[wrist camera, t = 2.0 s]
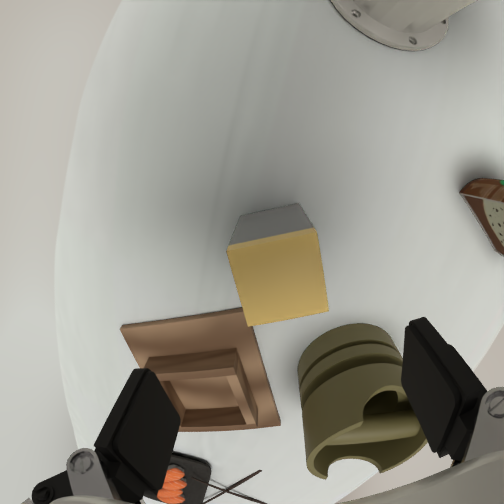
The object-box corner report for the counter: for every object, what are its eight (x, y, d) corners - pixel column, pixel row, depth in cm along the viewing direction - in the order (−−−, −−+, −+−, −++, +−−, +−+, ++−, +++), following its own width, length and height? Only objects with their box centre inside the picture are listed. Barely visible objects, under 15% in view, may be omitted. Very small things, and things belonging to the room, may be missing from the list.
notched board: (122, 325, 29) (108, 344, 25) (246, 306, 27) (244, 329, 24) (180, 427, 35) (175, 447, 31) (280, 420, 33) (281, 443, 29)
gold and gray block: (240, 215, 24) (226, 251, 16) (298, 203, 24) (316, 232, 15) (254, 269, 26) (247, 326, 18) (309, 258, 25) (328, 311, 17)
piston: (400, 472, 20) (294, 483, 20) (375, 397, 31) (289, 397, 31) (457, 401, 16) (328, 415, 16) (408, 324, 27) (308, 320, 28)
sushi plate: (129, 433, 38) (122, 450, 34) (306, 467, 38) (308, 484, 35) (141, 489, 47) (138, 501, 44) (264, 513, 48) (264, 525, 45)
